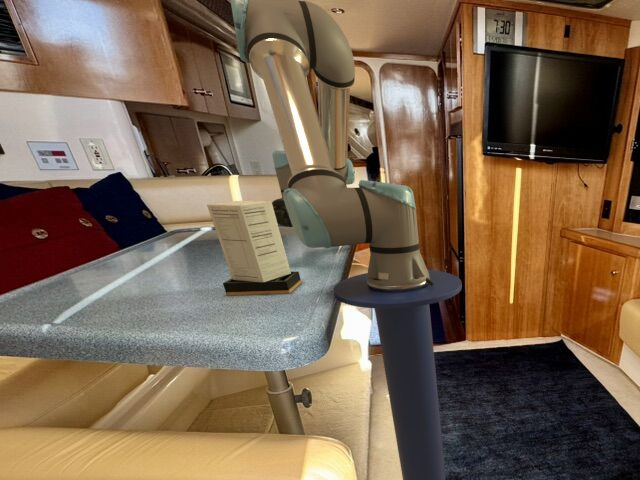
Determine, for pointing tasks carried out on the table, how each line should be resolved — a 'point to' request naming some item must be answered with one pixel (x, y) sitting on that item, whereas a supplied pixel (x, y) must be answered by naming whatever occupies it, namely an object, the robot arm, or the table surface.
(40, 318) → the table surface
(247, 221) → the supplement box
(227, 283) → the dish rack
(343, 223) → the robot arm
